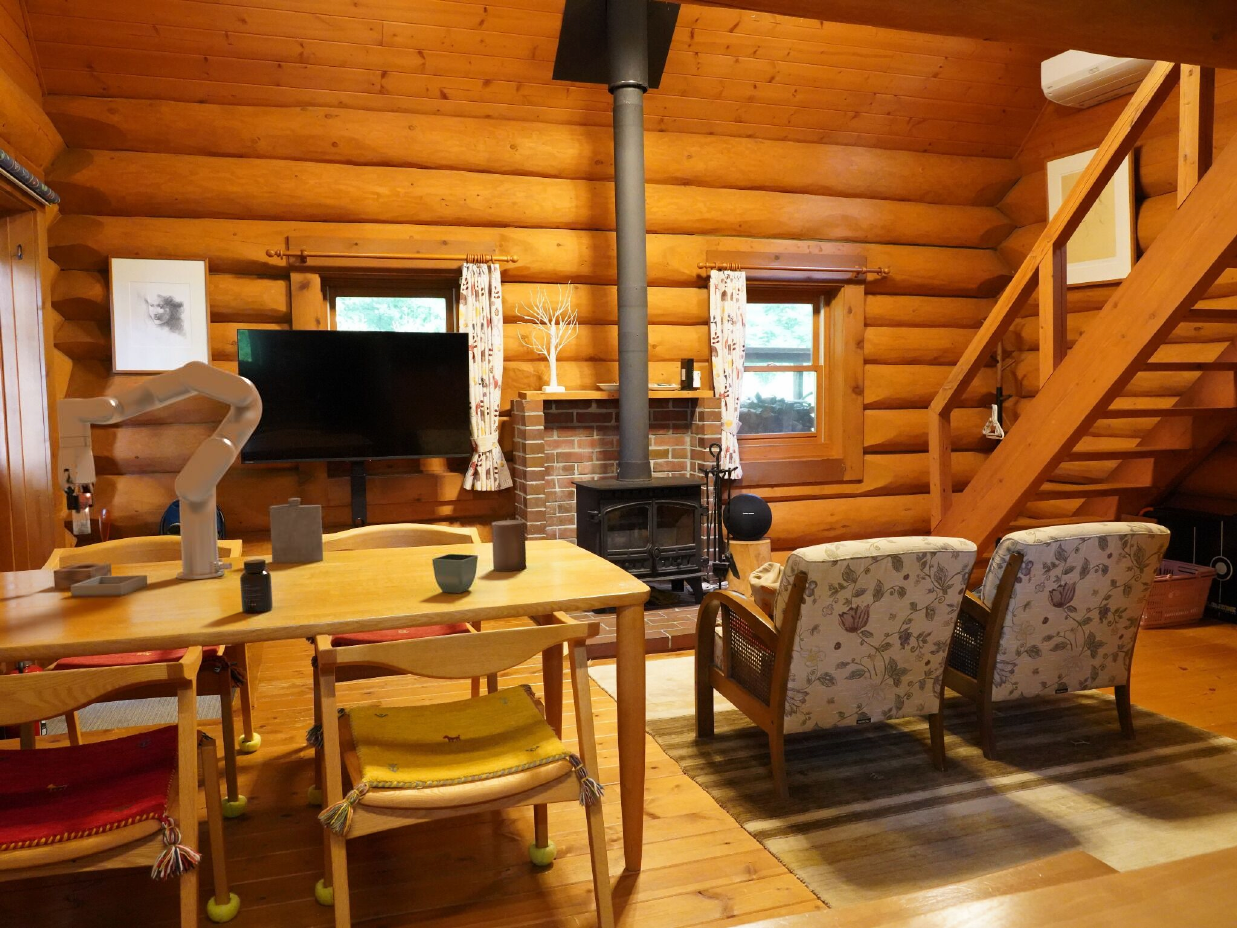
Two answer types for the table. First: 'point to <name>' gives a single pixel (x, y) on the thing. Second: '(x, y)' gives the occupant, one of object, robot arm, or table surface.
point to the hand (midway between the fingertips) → (80, 508)
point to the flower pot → (455, 572)
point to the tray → (108, 586)
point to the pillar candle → (509, 545)
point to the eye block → (79, 574)
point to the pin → (82, 515)
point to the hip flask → (296, 533)
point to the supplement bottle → (256, 587)
